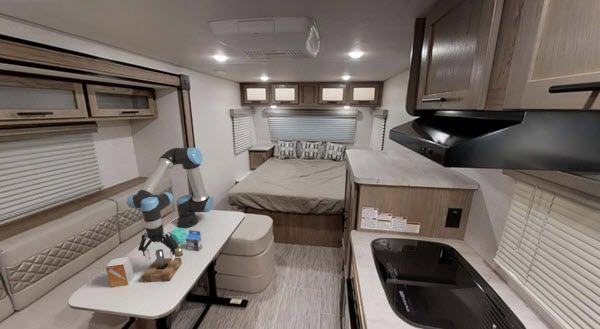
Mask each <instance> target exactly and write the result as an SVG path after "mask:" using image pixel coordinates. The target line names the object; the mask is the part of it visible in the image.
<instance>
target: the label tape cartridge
mask: <svg viewBox="0 0 600 329" xmlns="http://www.w3.org/2000/svg"><path fill="white" fill-rule="evenodd" d="M185 242H186V248H187V251H188V250H189V251H196V252H200V251H201V250H202V249H203V244H202V236H201V231H199V230H198V231H197V230H193V229H192V230H190V229H189V230H188V233H187V237H186V239H185Z"/></svg>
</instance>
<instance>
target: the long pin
mask: <svg viewBox="0 0 600 329" xmlns="http://www.w3.org/2000/svg"><path fill="white" fill-rule="evenodd" d="M164 255H165V254H164V250H163V248H160V249H157V250H155V256H156V257H155V258H156V259H157V262H158V267H159V269H165V268H166V264H165V259H164V258H165V256H164Z"/></svg>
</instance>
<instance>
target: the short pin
mask: <svg viewBox="0 0 600 329" xmlns="http://www.w3.org/2000/svg"><path fill="white" fill-rule="evenodd" d="M175 251H176V253H175V256H176V258H181V257H182V256H183V255H184V254H183V249H182V246H178V247H177V249H175Z"/></svg>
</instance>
